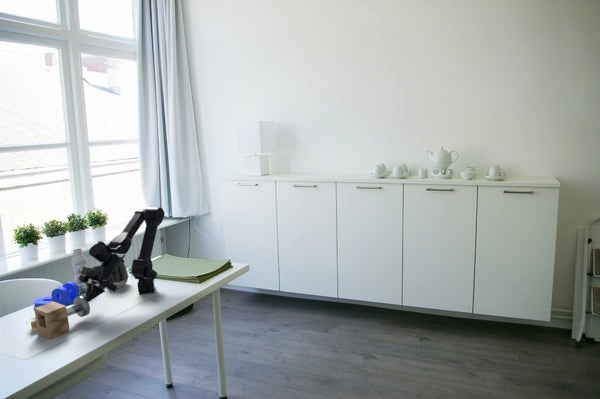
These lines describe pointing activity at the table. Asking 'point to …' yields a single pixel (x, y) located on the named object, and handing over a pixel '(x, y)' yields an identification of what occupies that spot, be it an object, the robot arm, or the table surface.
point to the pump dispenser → (120, 275)
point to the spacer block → (34, 324)
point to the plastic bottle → (79, 268)
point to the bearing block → (52, 320)
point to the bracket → (66, 292)
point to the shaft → (79, 307)
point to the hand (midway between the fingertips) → (85, 302)
